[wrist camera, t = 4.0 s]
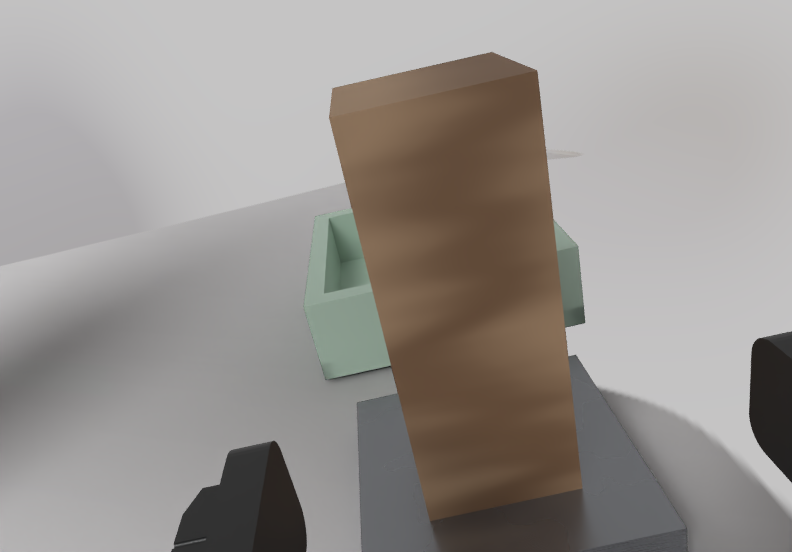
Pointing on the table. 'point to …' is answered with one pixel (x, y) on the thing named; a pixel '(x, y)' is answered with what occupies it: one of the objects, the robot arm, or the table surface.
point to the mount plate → (527, 520)
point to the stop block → (465, 275)
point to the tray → (355, 305)
